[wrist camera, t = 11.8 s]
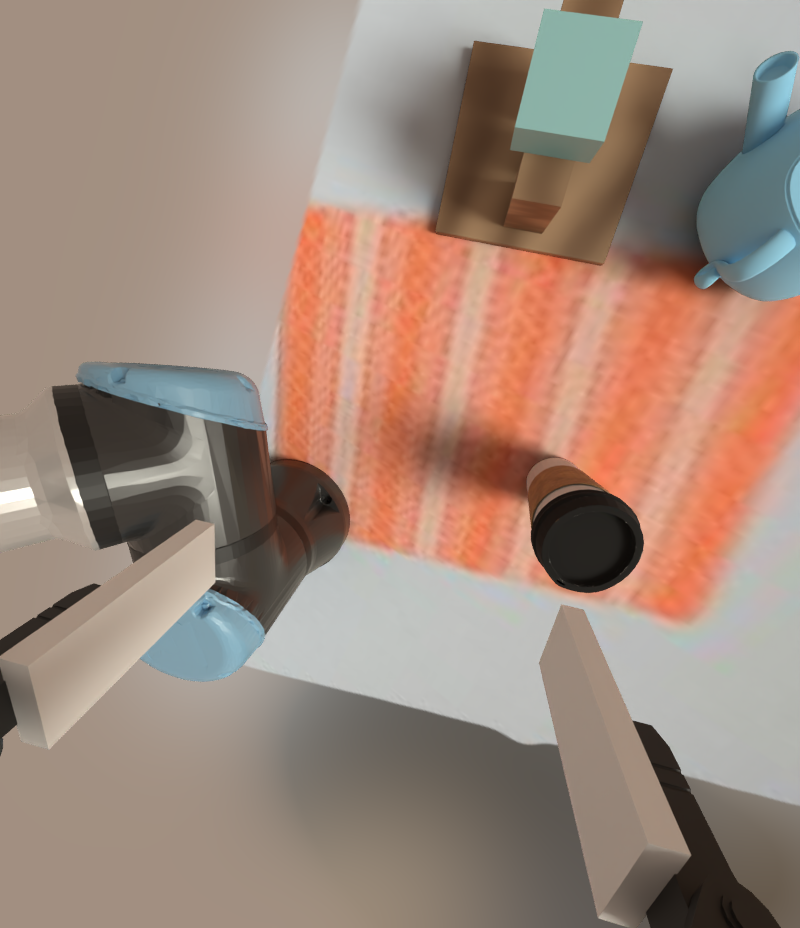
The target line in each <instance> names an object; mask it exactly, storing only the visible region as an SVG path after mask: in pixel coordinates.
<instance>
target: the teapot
mask: <svg viewBox="0 0 800 928" xmlns="http://www.w3.org/2000/svg"><path fill="white" fill-rule="evenodd" d="M798 60H799V56H798V54H797V53H796V52H793V51H786V52H781V53H778V54H776V55H773V56H772V57H770V58H768V59H767V60H765V61H764V62H763V63H761V64H760V65H759V66H758V68H757V69H756V70H755V72H754V75H753V82H752V89H751V96H750V102H749V109H748V116H747V123H746V129H745V136H744V143H743V150H742V151H741V152H740V153H739V154H738V155H737V156H736V157H735V158H734V159H733V160H732V161H731V162H730V163H729V164H728V165H727V166H726V167H725V168H724V169H723V170H722V171H721V172H720V173H719V175H718V176H717V177H716V178H715V179H714V180H713V182H712V183H711V184H710V185H709V187H708V188H707V190H706V191H705V193H704V194H703V196H702V199H701V201H700V203H699V207H698V211H697V221H696V229H697V232H698V236H699V240H700V244H701V246H702V249H703V252H704V254H705V257H706V259H707V261H708V262H709V264H707V265H706V266H704V267H703V268H702V269H701V270H700V271H699V272H698V273H697V274H696V275H695V277H694V283H695V285H696V286H697V287H698V288H700V289H706V288H707V287H709V286H710V285H712V284H713V283H714V282H715V281H716V280H717V279H718V278H721V279H722V280H723V281H724V282H725V283H726V284H727V285H729V286H730V287H731V288H733V289H734V290H736V291H737V292H739V293H741V294H742V295H744V296H747V297H749V298H752V299H756V300H760V301H776V300H782V299H788V298H791V297H795V296H798V295H800V109H799V110H797V111H796V112H794V113H793V114H791V115H790V116H788V117H786V116H787V111H788V107H789V102H790V97H791V93H792V88H793V83H794V79H795V74H796V69H797V65H798Z"/></svg>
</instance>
